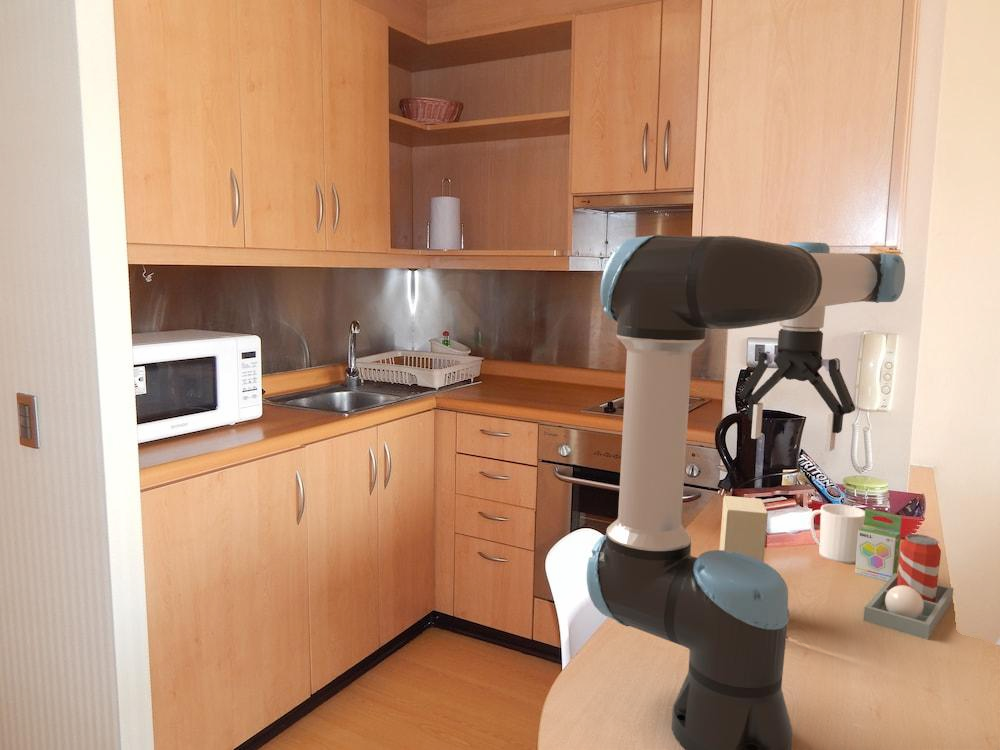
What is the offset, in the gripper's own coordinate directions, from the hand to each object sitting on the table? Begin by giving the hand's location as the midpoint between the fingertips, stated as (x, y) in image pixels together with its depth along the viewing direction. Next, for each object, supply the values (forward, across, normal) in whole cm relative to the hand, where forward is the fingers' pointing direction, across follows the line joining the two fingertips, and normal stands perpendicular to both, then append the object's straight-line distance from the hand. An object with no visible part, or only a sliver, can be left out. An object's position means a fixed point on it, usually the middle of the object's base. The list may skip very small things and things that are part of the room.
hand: (791, 443), depth 144 cm
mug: (+29, -2, -26) cm, 39 cm away
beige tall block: (+29, +1, +17) cm, 34 cm away
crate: (+29, -21, -6) cm, 36 cm away
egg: (+28, -21, -1) cm, 35 cm away
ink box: (+29, -12, -19) cm, 37 cm away
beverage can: (+28, -21, -11) cm, 37 cm away
